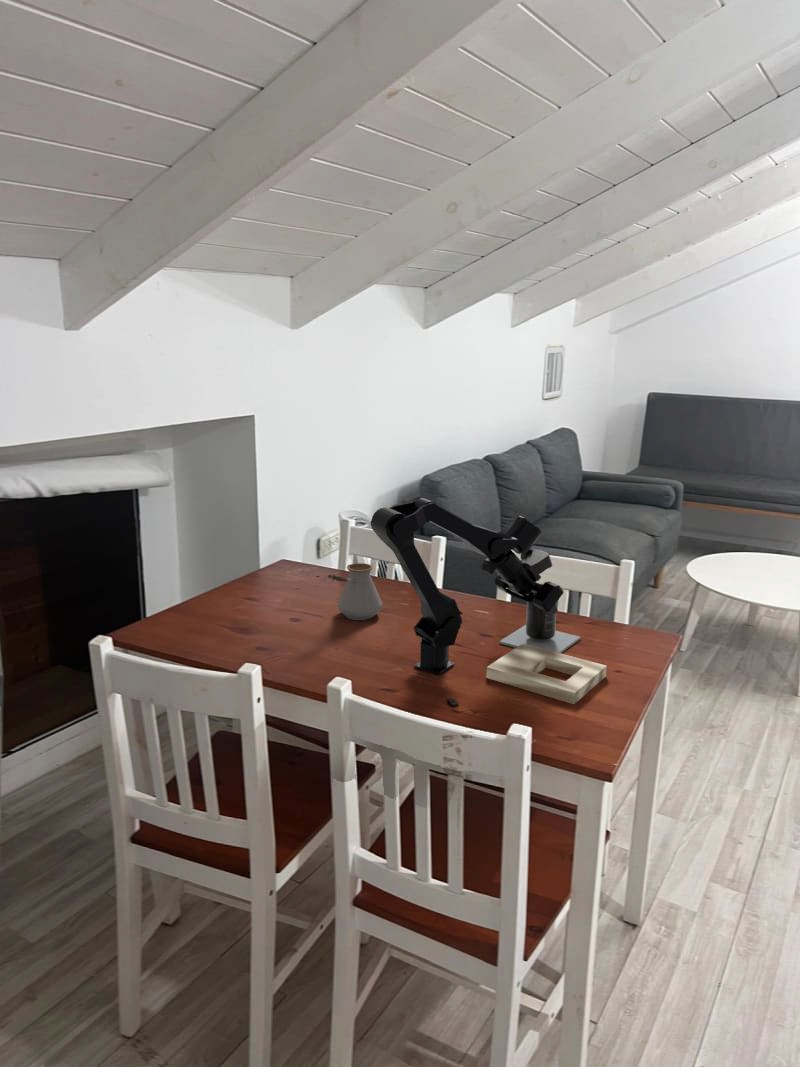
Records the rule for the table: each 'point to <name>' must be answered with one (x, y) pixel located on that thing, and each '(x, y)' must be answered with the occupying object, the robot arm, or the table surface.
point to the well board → (530, 660)
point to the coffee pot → (358, 593)
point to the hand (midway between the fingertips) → (546, 607)
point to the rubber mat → (554, 644)
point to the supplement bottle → (539, 621)
